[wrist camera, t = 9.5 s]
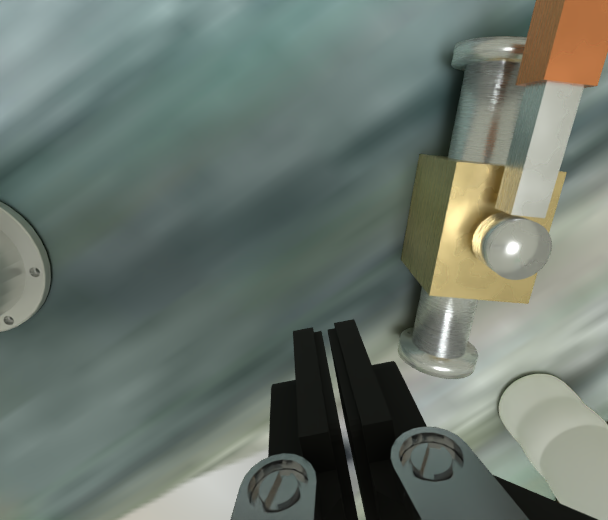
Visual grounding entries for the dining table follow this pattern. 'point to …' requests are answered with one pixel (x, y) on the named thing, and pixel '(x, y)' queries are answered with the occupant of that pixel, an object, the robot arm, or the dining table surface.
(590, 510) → the water bottle
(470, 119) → the valve pipe
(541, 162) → the valve lever
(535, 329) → the dining table surface
